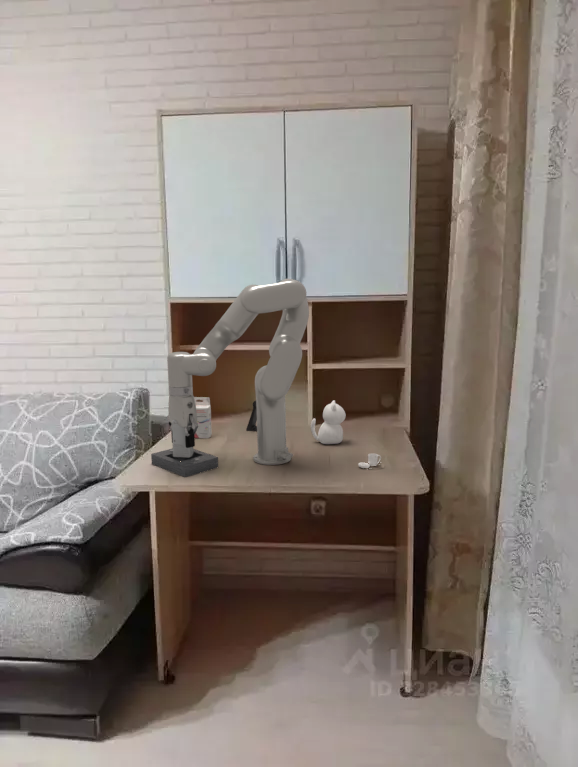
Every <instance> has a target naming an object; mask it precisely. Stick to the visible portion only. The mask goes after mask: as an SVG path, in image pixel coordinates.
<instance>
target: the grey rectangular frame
mask: <svg viewBox="0 0 578 767" xmlns="http://www.w3.org/2000/svg"><path fill="white" fill-rule="evenodd" d="M150 454H151V455H150V457H151V458H150V459H151V465H153V466H156V467H158V468H160V469H162V470H165V471H168V472H171V473H174V474H175V475H178V476H181V477H183V478H187V477H191V476H194V475H197V474H201V473H205V472H207V470H208V471H211V469H212V470H215V469H218V468H219V457H218V456H216V455H213V454H209V453H208V452H206V451H205V452H204V451H202V450H198V449H196V448H193V455H192V456H191V457H173V447H171V448H169V449H165V450H161V451H157V452H153V453H150ZM180 461H181V462H180ZM217 467H218V468H217ZM204 471H205V472H204ZM200 472H201V473H200Z"/></svg>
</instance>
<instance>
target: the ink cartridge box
mask: <svg viewBox="0 0 578 767" xmlns="http://www.w3.org/2000/svg"><path fill="white" fill-rule="evenodd" d="M194 399H195V404H196V411H197V423H198V428H197V431H196V432H195V435H194V437H195V439H209V438H211V436H212V430H213V429H212V409H211V408H212V407H211V400H210V399H211V398H210V397H209V396H208V397H205V396H204V397H203V396H200V397H199V396H198V397H197V396H194Z"/></svg>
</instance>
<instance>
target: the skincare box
mask: <svg viewBox="0 0 578 767" xmlns="http://www.w3.org/2000/svg"><path fill="white" fill-rule="evenodd" d="M189 425H191V423H190V421H189V423H188V424H187V426H189ZM188 430H190V428H188ZM185 436H187V435H186V432H185V429H184V427H180V426H178V423H177V421H175V420H173V421H172V435H171V439H172V438H173V443H172V448H173V457H191V456H192V455H193V449H194V447H190V448H186V443H185Z"/></svg>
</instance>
